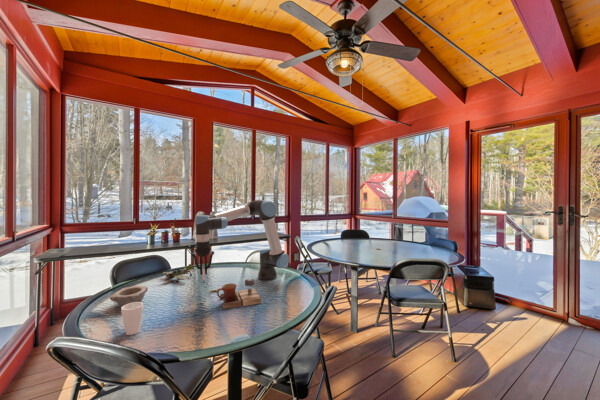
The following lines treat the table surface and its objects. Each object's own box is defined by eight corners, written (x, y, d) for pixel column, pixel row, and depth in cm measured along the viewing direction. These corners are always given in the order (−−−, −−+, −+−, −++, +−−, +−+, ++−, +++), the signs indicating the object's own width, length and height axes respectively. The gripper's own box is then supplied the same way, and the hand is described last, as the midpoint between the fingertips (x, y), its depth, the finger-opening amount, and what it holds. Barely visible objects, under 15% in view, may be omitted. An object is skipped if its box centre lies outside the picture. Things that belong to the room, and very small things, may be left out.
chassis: (220, 298, 175) (220, 288, 174) (254, 292, 183) (254, 283, 183) (223, 309, 158) (223, 298, 158) (260, 302, 166) (260, 292, 166)
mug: (234, 298, 174) (234, 282, 174) (238, 303, 167) (238, 286, 166) (215, 302, 169) (215, 286, 168) (218, 307, 161) (218, 290, 161)
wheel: (244, 283, 174) (244, 278, 174) (253, 282, 177) (253, 277, 176) (245, 286, 169) (245, 281, 169) (255, 285, 171) (255, 280, 171)
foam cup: (134, 325, 140) (133, 301, 139) (148, 328, 137) (147, 303, 137) (117, 335, 131) (116, 308, 130) (131, 337, 128) (131, 311, 128)
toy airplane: (205, 278, 217) (205, 265, 216) (177, 287, 196) (176, 274, 195) (183, 272, 233) (182, 260, 233) (154, 280, 212) (153, 267, 212)
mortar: (107, 312, 156) (106, 296, 156) (124, 300, 173) (124, 286, 173) (136, 311, 157) (136, 295, 157) (151, 299, 174) (150, 285, 174)
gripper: (191, 243, 155) (192, 283, 156) (214, 241, 160) (215, 280, 161) (191, 240, 162) (192, 279, 163) (213, 239, 167) (214, 276, 168)
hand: (203, 279), depth 162 cm, fingers closed
